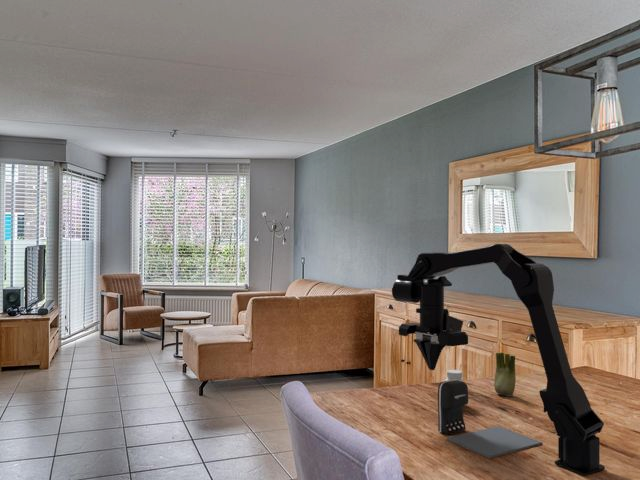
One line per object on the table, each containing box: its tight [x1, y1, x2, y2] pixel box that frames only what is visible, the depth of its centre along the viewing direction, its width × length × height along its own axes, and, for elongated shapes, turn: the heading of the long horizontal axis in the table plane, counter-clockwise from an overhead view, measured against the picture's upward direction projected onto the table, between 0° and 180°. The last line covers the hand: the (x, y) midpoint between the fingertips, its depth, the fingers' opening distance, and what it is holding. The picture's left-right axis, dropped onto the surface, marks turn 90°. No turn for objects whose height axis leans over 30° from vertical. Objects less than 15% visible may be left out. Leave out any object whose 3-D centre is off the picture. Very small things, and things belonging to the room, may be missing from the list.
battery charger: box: [437, 380, 469, 435], centre depth 124 cm, size 7×4×11 cm, turn 124°
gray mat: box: [446, 425, 543, 459], centre depth 117 cm, size 12×16×1 cm
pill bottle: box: [444, 369, 466, 383], centre depth 145 cm, size 5×5×9 cm
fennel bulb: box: [493, 352, 517, 397], centre depth 154 cm, size 6×5×12 cm
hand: (431, 369), depth 130 cm, fingers closed
